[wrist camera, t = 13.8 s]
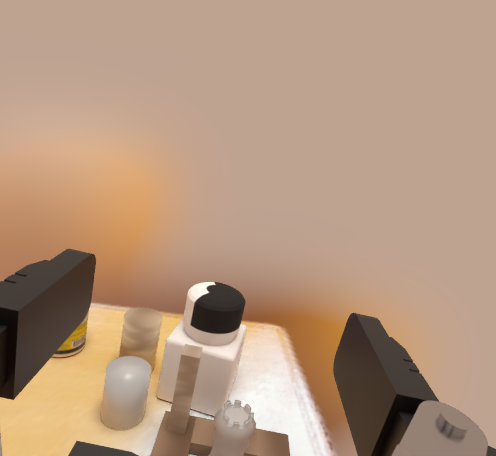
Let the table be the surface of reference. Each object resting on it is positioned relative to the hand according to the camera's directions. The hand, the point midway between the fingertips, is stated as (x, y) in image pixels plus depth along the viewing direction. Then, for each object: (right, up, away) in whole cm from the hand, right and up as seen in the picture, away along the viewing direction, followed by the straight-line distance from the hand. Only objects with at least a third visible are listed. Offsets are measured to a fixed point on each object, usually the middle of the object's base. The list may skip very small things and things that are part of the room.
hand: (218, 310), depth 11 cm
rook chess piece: (-2, -19, +18) cm, 26 cm away
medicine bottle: (-5, -15, +29) cm, 34 cm away
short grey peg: (-11, -15, +24) cm, 30 cm away
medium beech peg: (-12, -13, +31) cm, 35 cm away
